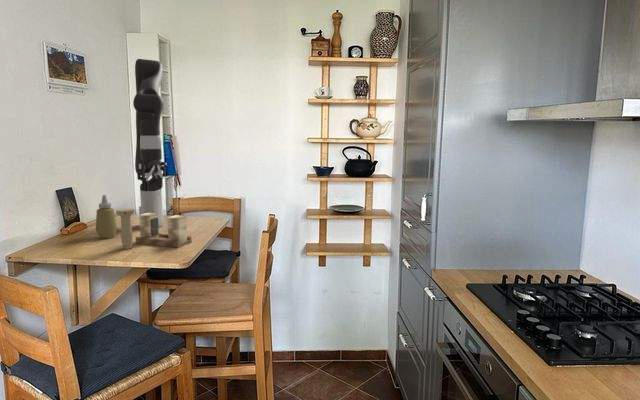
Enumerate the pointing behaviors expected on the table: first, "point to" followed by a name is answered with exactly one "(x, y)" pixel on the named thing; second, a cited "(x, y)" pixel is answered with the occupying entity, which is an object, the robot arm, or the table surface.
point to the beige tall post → (126, 227)
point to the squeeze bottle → (105, 220)
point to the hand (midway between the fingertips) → (152, 189)
